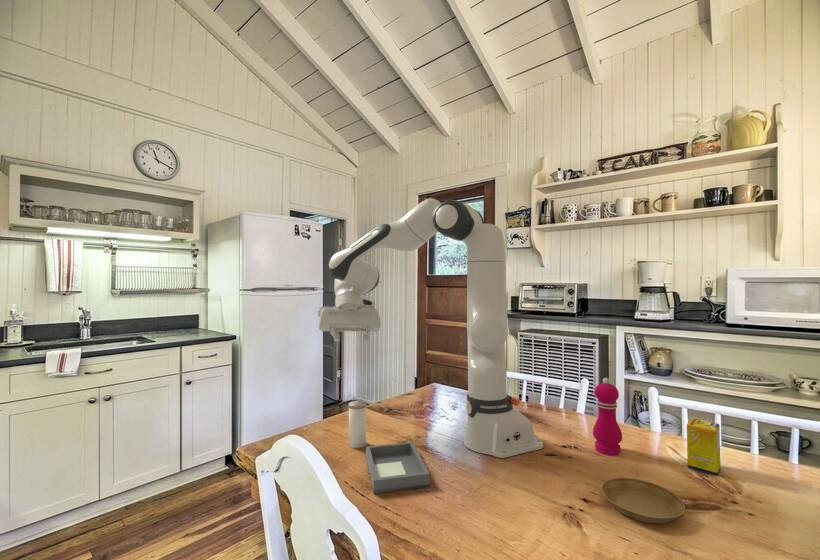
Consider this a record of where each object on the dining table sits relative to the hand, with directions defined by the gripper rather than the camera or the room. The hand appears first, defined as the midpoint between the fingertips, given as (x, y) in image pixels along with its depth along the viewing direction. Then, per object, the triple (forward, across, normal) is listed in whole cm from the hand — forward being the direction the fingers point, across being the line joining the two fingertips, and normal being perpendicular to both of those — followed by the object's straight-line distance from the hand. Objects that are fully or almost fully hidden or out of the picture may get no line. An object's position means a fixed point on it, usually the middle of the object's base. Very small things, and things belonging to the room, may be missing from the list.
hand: (351, 340), depth 121 cm
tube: (+28, +2, +12) cm, 31 cm away
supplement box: (+54, +80, -23) cm, 100 cm away
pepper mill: (+44, +66, -11) cm, 80 cm away
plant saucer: (+61, +51, -27) cm, 84 cm away
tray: (+41, +8, -2) cm, 41 cm away
